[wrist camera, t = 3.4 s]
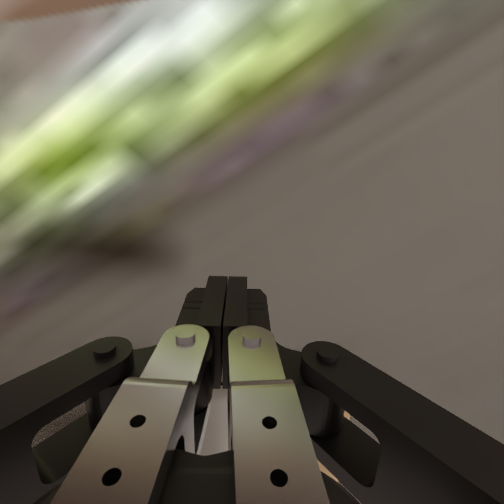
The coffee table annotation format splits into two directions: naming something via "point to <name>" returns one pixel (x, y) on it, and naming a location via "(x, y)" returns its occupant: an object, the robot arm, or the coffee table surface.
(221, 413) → the flask
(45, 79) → the coffee table surface
